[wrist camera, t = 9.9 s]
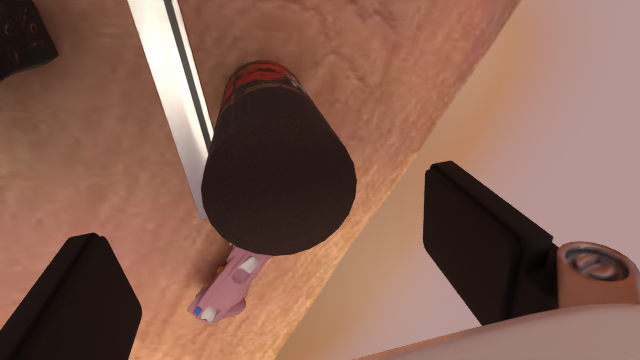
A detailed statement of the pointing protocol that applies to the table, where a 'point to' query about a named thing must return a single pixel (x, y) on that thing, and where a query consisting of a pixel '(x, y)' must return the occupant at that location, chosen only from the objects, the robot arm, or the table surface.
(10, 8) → the green animal figurine
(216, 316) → the video game controller
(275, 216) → the deodorant
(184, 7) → the table surface
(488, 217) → the robot arm
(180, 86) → the ruler
